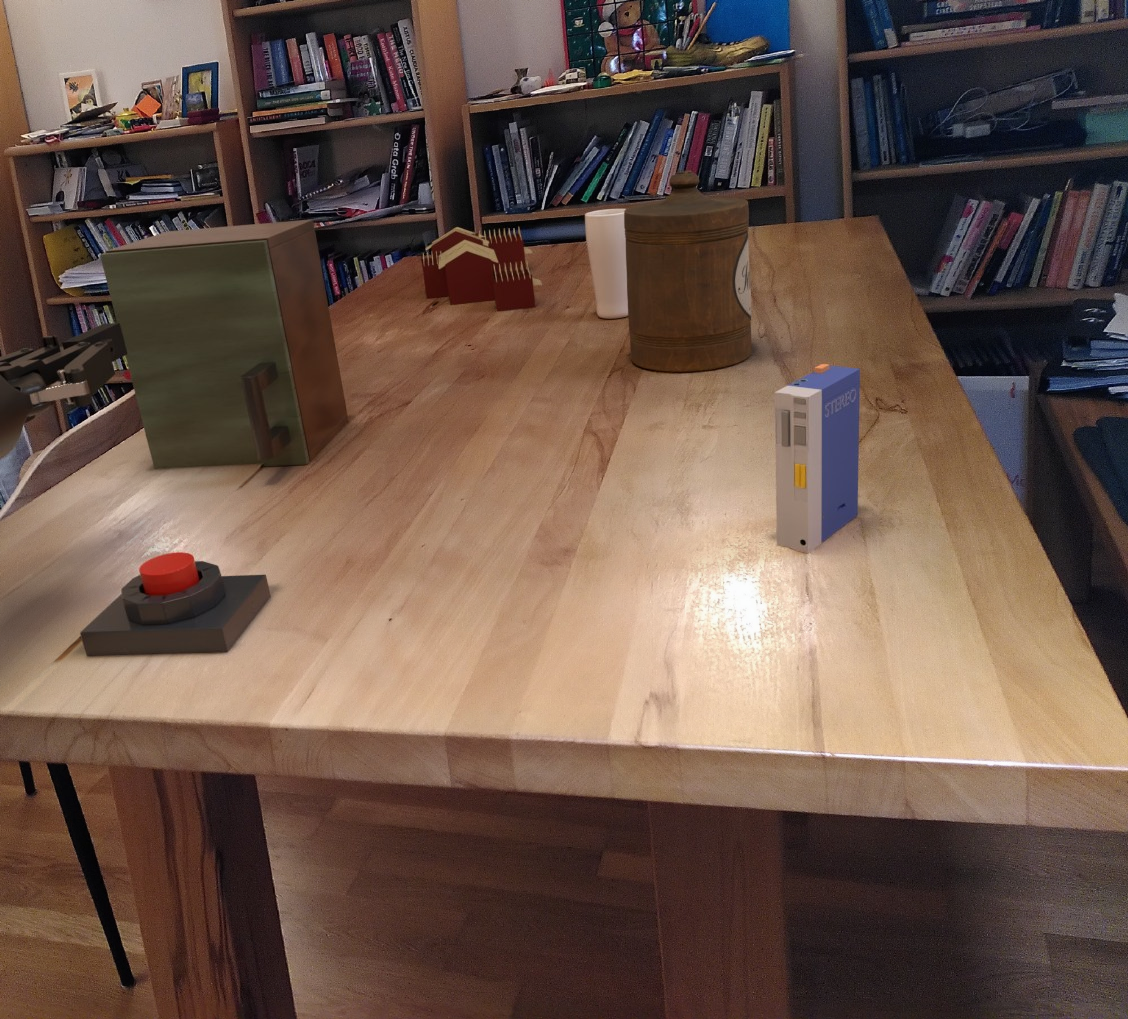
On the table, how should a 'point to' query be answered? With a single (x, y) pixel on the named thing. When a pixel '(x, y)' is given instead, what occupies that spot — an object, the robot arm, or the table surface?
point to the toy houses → (480, 269)
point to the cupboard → (288, 314)
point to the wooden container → (688, 280)
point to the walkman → (816, 456)
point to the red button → (169, 574)
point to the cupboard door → (208, 354)
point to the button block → (178, 616)
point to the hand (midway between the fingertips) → (115, 339)
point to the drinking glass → (608, 261)
